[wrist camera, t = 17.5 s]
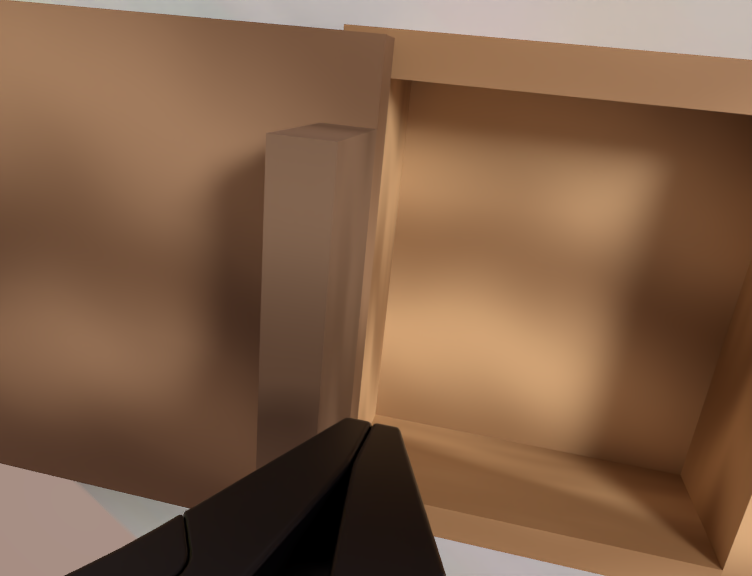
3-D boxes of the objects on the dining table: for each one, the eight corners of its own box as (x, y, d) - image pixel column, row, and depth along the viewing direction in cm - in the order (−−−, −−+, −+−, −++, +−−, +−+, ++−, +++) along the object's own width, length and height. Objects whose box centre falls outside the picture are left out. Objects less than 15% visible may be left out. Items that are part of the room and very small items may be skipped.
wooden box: (695, 487, 20) (753, 609, 15) (352, 418, 22) (310, 507, 17) (833, 81, 15) (974, 79, 11) (387, 41, 17) (343, 24, 13)
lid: (348, 518, 17) (302, 641, 13) (-7, 436, 19) (-135, 523, 15) (395, 37, 12) (346, 17, 9) (-74, -5, 14) (-277, -36, 11)
